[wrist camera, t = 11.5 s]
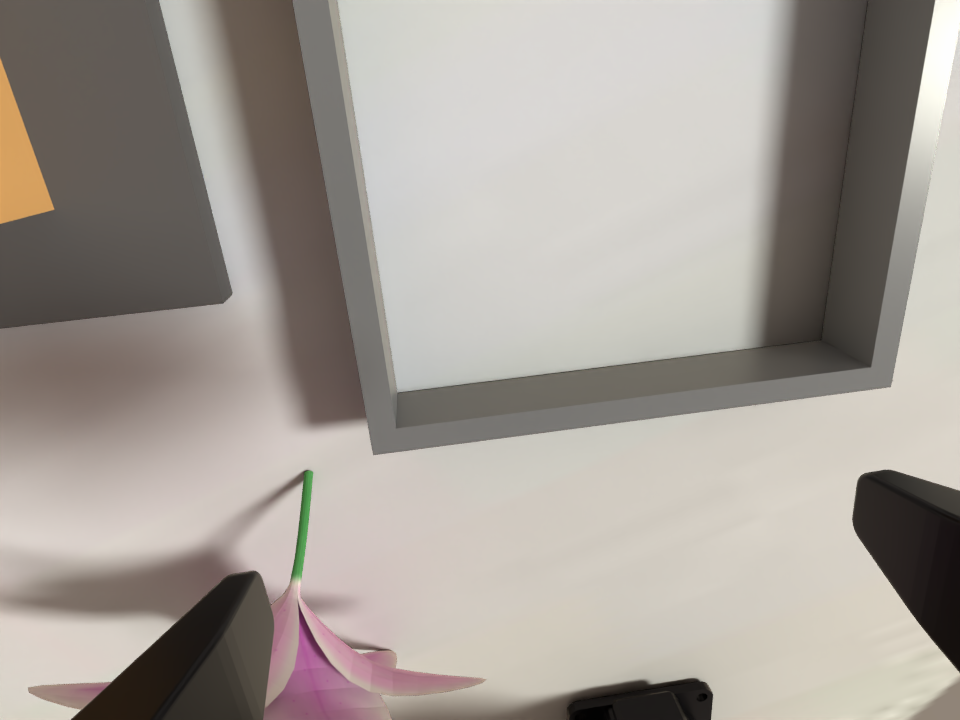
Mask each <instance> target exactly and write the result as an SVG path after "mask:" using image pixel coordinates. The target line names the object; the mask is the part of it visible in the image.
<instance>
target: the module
mask: <svg viewBox="0 0 960 720" xmlns="http://www.w3.org/2000/svg"><path fill="white" fill-rule="evenodd" d="M51 210H54V207H53V204H52V201H51V199H50V196H49V193H48V190H47V187H46V185H45V182H44V179H43V176H42V173H41V171H40V168H39V165H38V162H37V159H36V157H35V154H34V151H33V148H32V145H31V143H30V140H29V137H28V134H27V131H26V129H25V126H24V123H23V120H22V117H21V115H20V112H19V109H18V106H17V103H16V101H15V98H14V95H13V92H12V89H11V87H10V84H9V81H8V78H7V75H6V73H5V70H4V67H3V64H2V61H1V59H0V224H2V223H6V222H9V221H13V220H17V219H21V218H25V217H28V216H32V215H36V214H40V213H44V212H47V211H51Z"/></svg>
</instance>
